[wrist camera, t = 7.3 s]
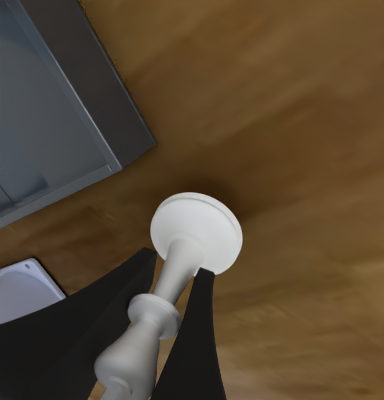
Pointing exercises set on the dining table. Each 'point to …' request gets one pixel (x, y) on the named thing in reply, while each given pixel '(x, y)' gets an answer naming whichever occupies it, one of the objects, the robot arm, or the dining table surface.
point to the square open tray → (59, 107)
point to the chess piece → (168, 289)
